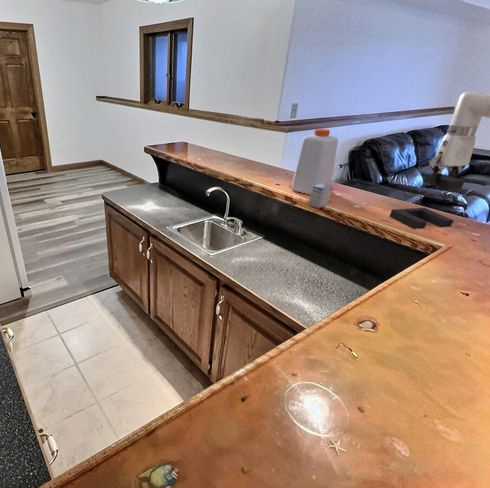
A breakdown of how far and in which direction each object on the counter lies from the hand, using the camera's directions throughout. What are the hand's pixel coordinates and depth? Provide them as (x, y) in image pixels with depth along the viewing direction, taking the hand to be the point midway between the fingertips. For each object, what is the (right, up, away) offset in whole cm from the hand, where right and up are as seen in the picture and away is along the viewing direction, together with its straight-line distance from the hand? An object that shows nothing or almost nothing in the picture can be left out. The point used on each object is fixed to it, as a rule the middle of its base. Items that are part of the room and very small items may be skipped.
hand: (442, 182), depth 125 cm
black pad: (0, -1, 0) cm, 1 cm away
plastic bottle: (-31, +3, +41) cm, 51 cm away
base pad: (-3, -14, +7) cm, 16 cm away
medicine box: (-34, -6, +23) cm, 42 cm away
